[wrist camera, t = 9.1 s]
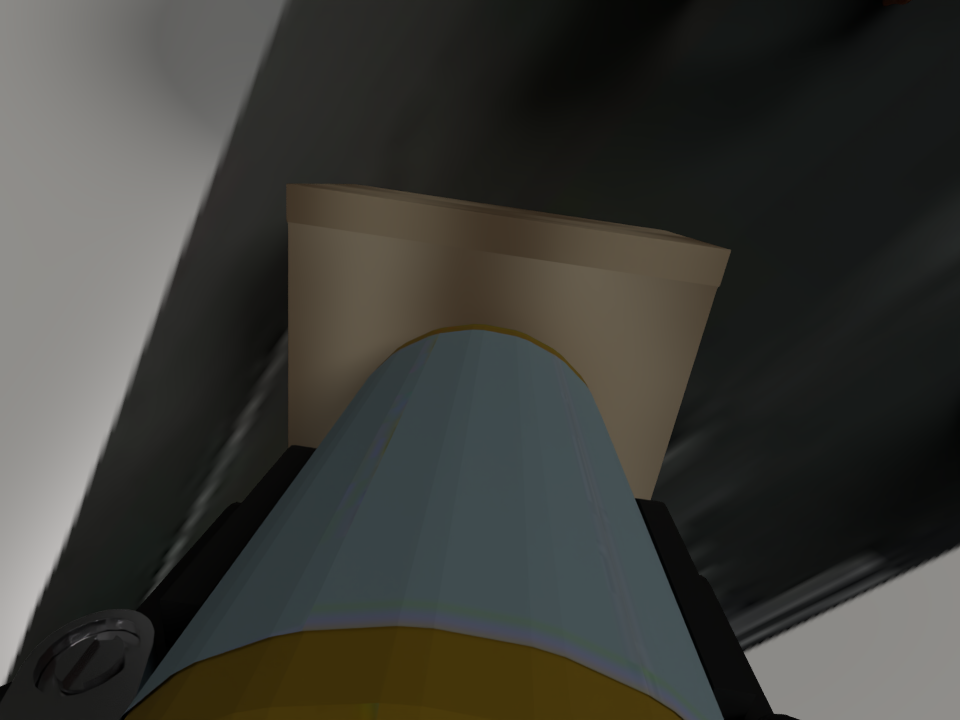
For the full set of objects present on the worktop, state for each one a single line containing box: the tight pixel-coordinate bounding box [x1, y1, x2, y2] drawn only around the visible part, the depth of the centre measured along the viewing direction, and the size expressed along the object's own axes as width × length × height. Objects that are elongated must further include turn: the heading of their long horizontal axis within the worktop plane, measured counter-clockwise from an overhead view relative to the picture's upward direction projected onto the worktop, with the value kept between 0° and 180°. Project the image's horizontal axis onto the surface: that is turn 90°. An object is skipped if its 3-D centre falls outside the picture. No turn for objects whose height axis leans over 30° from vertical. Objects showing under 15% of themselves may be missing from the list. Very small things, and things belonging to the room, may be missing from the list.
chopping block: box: [287, 184, 731, 500], centre depth 18 cm, size 12×12×6 cm
